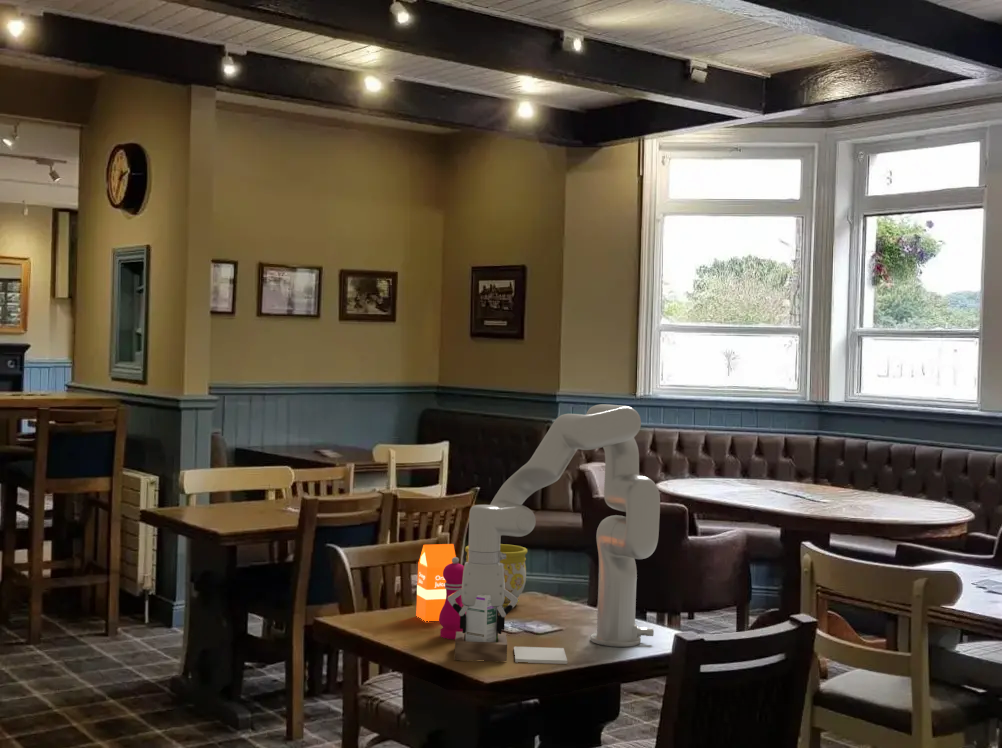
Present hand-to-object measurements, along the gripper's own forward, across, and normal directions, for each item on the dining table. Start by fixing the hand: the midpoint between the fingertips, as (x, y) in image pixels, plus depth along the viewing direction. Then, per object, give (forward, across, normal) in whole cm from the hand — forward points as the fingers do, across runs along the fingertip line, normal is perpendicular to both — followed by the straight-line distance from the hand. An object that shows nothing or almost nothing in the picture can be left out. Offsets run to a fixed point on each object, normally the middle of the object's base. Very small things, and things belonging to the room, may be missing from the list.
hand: (481, 632), depth 265 cm
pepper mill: (+6, +7, -18) cm, 20 cm away
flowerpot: (+6, -4, -60) cm, 60 cm away
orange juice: (+6, +12, -39) cm, 41 cm away
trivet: (+5, -14, 0) cm, 15 cm away
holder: (+5, 0, 0) cm, 5 cm away
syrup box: (+5, 0, 0) cm, 5 cm away
